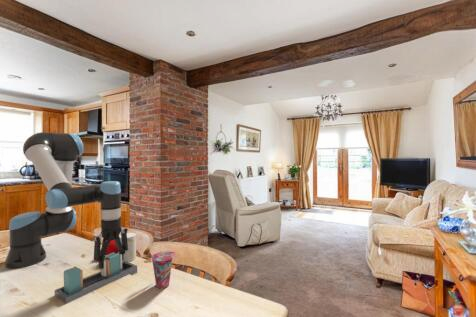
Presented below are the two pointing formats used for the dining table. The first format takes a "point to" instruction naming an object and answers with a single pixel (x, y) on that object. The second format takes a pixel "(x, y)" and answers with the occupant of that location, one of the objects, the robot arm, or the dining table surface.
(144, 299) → the dining table surface
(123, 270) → the rail
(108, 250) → the ornament
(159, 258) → the cup
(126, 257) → the cup
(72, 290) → the block
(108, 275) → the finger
